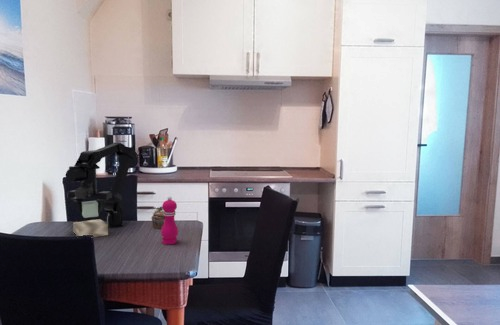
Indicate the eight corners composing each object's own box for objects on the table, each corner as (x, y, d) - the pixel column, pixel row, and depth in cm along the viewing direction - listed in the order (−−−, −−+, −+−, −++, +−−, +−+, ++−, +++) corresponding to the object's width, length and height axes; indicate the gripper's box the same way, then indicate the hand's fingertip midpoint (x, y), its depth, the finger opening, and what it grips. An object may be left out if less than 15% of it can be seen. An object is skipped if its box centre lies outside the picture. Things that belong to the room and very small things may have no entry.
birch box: (100, 229, 180) (100, 219, 180) (108, 235, 171) (107, 224, 170) (73, 233, 173) (73, 222, 172) (79, 239, 163) (79, 228, 163)
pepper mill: (180, 240, 165) (180, 195, 163) (175, 245, 158) (175, 198, 156) (164, 239, 166) (164, 194, 164) (158, 244, 158) (158, 197, 156)
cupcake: (173, 224, 190) (173, 205, 189) (168, 229, 180) (168, 209, 179) (155, 223, 190) (155, 204, 189) (148, 229, 181) (148, 208, 180)
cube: (96, 213, 175) (95, 200, 174) (98, 216, 170) (98, 203, 169) (82, 214, 172) (81, 202, 171) (84, 217, 167) (83, 204, 166)
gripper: (58, 181, 162) (60, 216, 164) (99, 183, 160) (100, 218, 162) (74, 177, 173) (75, 210, 175) (112, 179, 171) (112, 212, 173)
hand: (90, 213), depth 171 cm, fingers closed on cube, 8 cm apart
